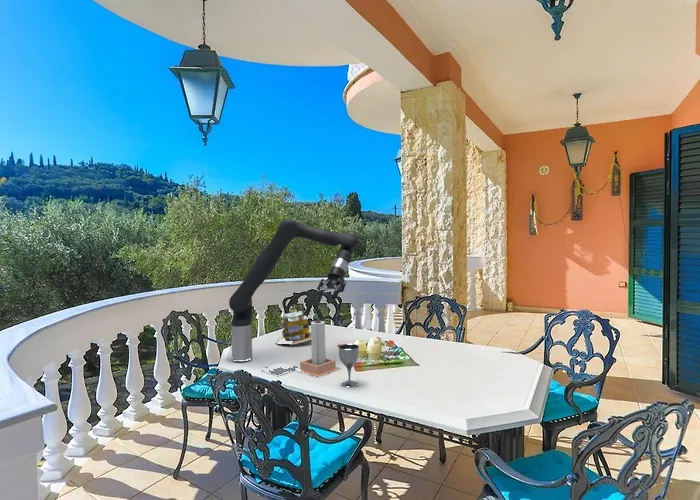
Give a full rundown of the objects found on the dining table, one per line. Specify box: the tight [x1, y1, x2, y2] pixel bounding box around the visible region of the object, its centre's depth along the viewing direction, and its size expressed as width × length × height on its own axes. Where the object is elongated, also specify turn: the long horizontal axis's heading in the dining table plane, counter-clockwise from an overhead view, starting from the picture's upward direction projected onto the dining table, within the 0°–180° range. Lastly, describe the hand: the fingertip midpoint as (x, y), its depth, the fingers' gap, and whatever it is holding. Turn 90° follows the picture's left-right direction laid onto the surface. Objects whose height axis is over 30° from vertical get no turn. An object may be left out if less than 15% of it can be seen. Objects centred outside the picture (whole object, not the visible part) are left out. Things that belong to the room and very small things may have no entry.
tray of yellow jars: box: [280, 310, 311, 345], centre depth 224 cm, size 25×25×17 cm
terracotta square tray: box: [299, 357, 341, 378], centre depth 174 cm, size 14×14×4 cm
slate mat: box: [269, 365, 299, 375], centre depth 176 cm, size 12×12×1 cm
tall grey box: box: [310, 320, 327, 366], centre depth 174 cm, size 7×6×21 cm
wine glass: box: [338, 343, 360, 388], centre depth 156 cm, size 8×8×15 cm
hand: (325, 299), depth 179 cm, fingers open, 8 cm apart
